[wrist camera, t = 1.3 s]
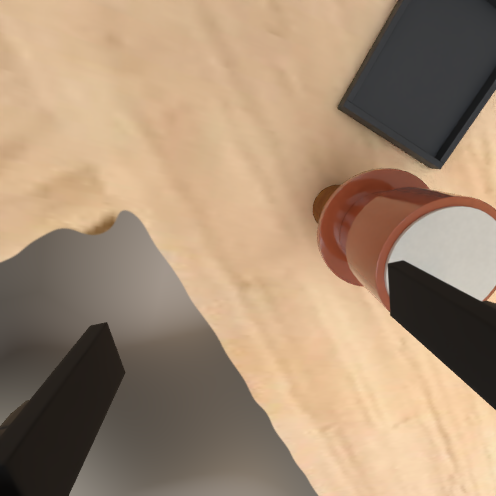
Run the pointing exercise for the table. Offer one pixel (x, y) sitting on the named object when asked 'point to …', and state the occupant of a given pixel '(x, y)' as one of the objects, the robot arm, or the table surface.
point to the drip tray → (427, 76)
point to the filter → (407, 233)
